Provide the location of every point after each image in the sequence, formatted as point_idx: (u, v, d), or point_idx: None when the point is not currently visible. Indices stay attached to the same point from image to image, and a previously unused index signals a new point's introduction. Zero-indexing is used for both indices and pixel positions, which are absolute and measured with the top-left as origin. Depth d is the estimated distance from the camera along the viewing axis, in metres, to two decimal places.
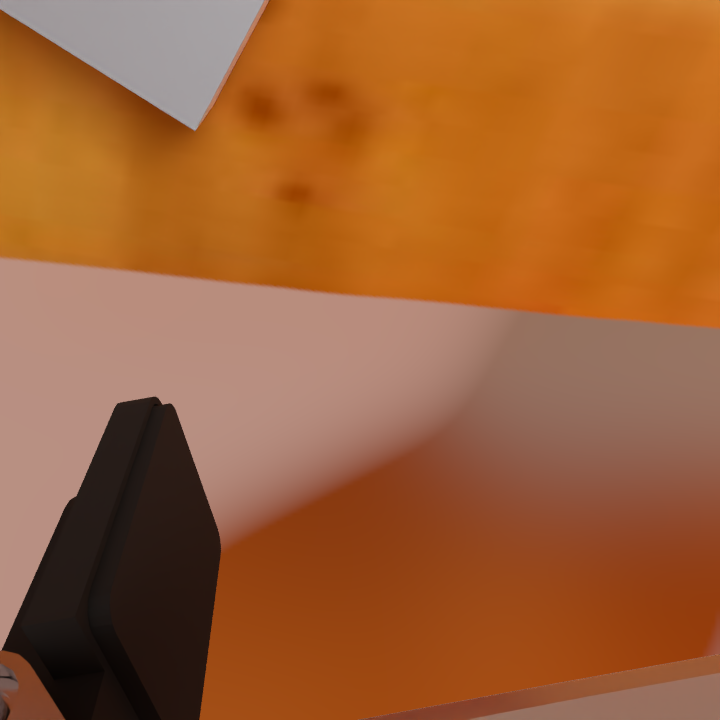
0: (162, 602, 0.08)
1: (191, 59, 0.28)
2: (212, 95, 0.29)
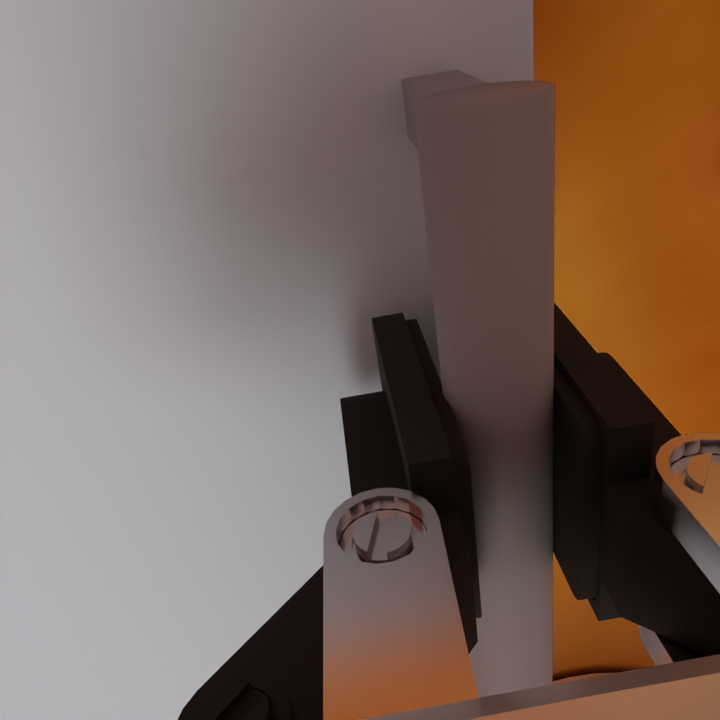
0: None
1: None
2: None
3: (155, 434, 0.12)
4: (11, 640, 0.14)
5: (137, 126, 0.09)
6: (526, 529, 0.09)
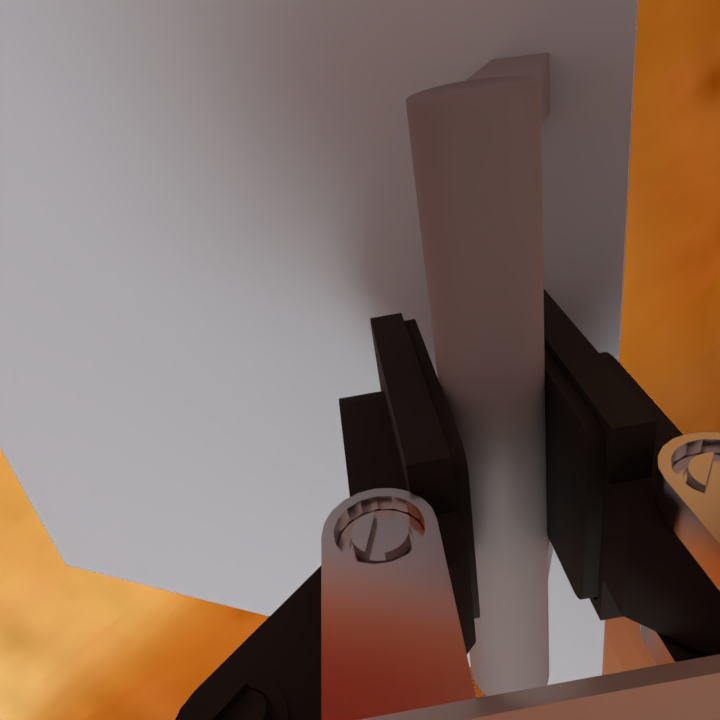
0: None
1: None
2: None
3: (266, 349, 0.14)
4: (163, 481, 0.18)
5: (265, 88, 0.11)
6: (496, 514, 0.09)
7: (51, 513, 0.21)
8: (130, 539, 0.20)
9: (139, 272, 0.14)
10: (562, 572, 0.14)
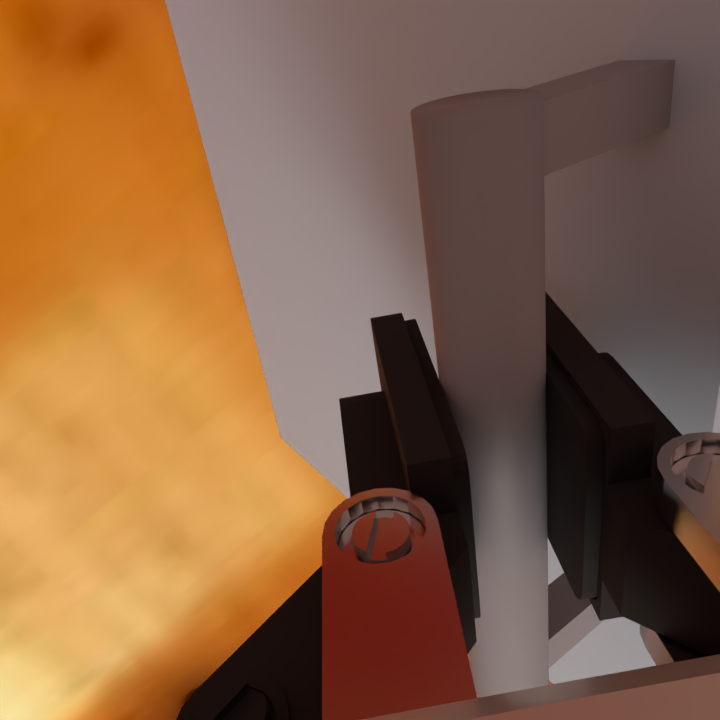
0: None
1: None
2: None
3: (415, 306, 0.15)
4: (341, 396, 0.21)
5: (431, 64, 0.11)
6: None
7: (275, 393, 0.26)
8: (318, 435, 0.24)
9: (338, 213, 0.16)
10: (636, 627, 0.13)
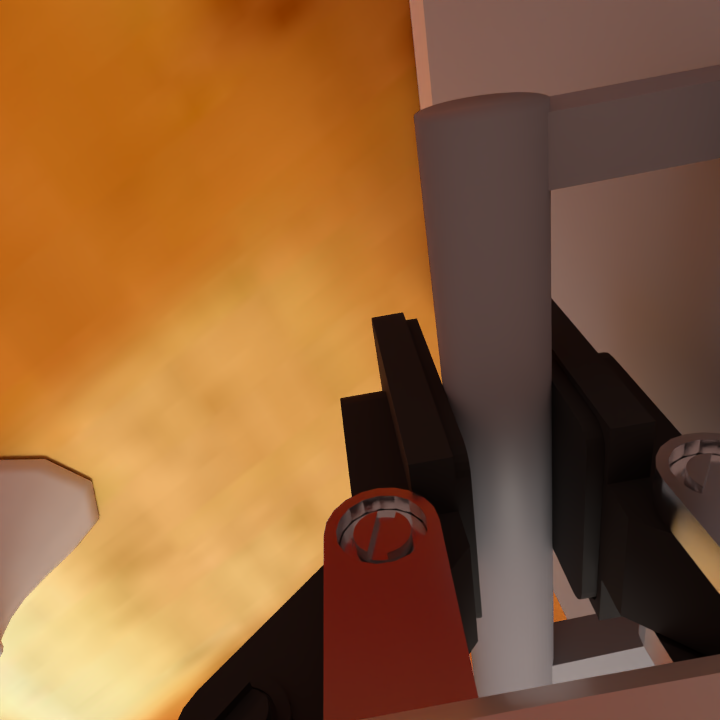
0: None
1: None
2: None
3: (553, 297, 0.14)
4: None
5: (583, 45, 0.11)
6: None
7: None
8: None
9: None
10: None
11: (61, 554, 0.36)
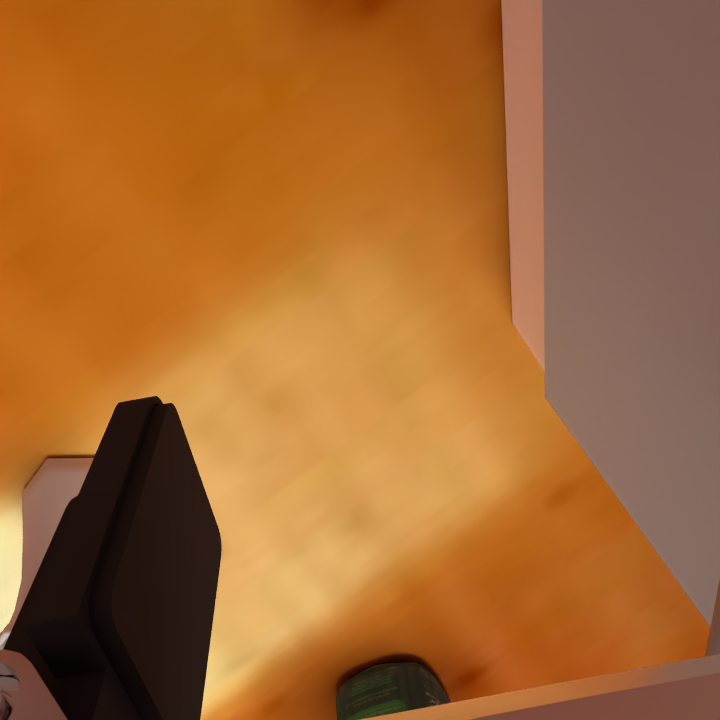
0: (163, 601, 0.08)
1: None
2: None
3: None
4: (623, 368, 0.20)
5: None
6: None
7: (551, 351, 0.26)
8: (585, 403, 0.23)
9: (675, 173, 0.15)
10: None
11: None
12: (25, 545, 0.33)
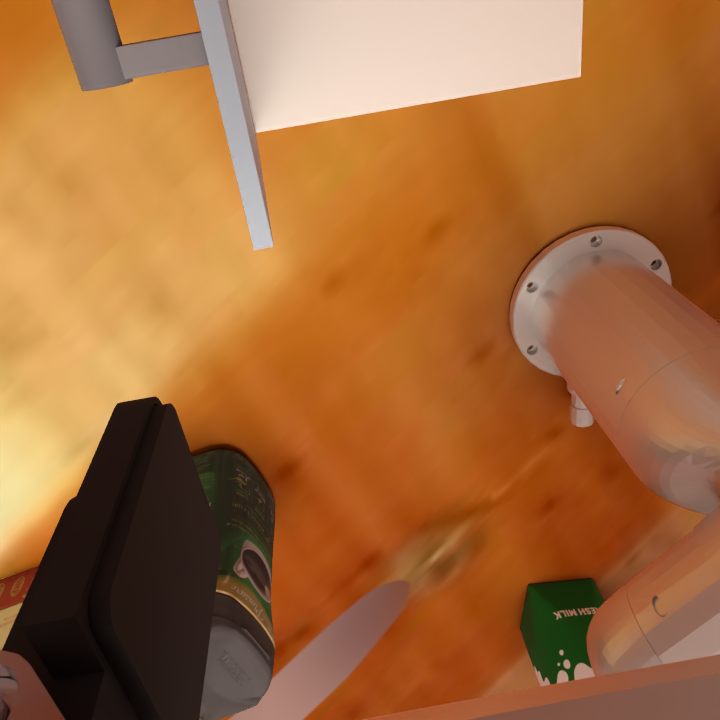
0: (162, 602, 0.08)
1: None
2: None
3: None
4: None
5: None
6: None
7: None
8: None
9: None
10: None
11: None
12: None
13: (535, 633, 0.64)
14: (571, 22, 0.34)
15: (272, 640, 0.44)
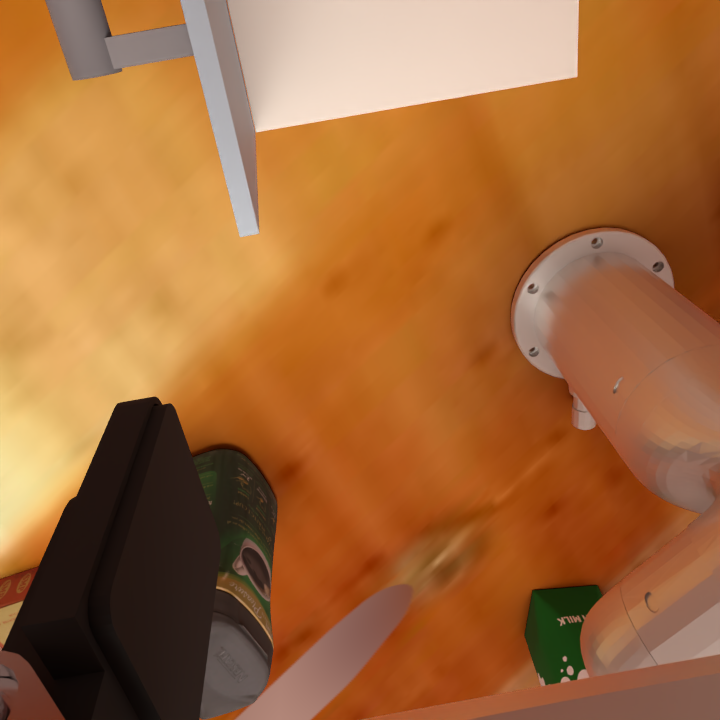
0: (162, 602, 0.08)
1: None
2: None
3: None
4: None
5: None
6: None
7: None
8: None
9: None
10: None
11: None
12: None
13: (539, 639, 0.63)
14: (567, 23, 0.34)
15: (270, 638, 0.44)
